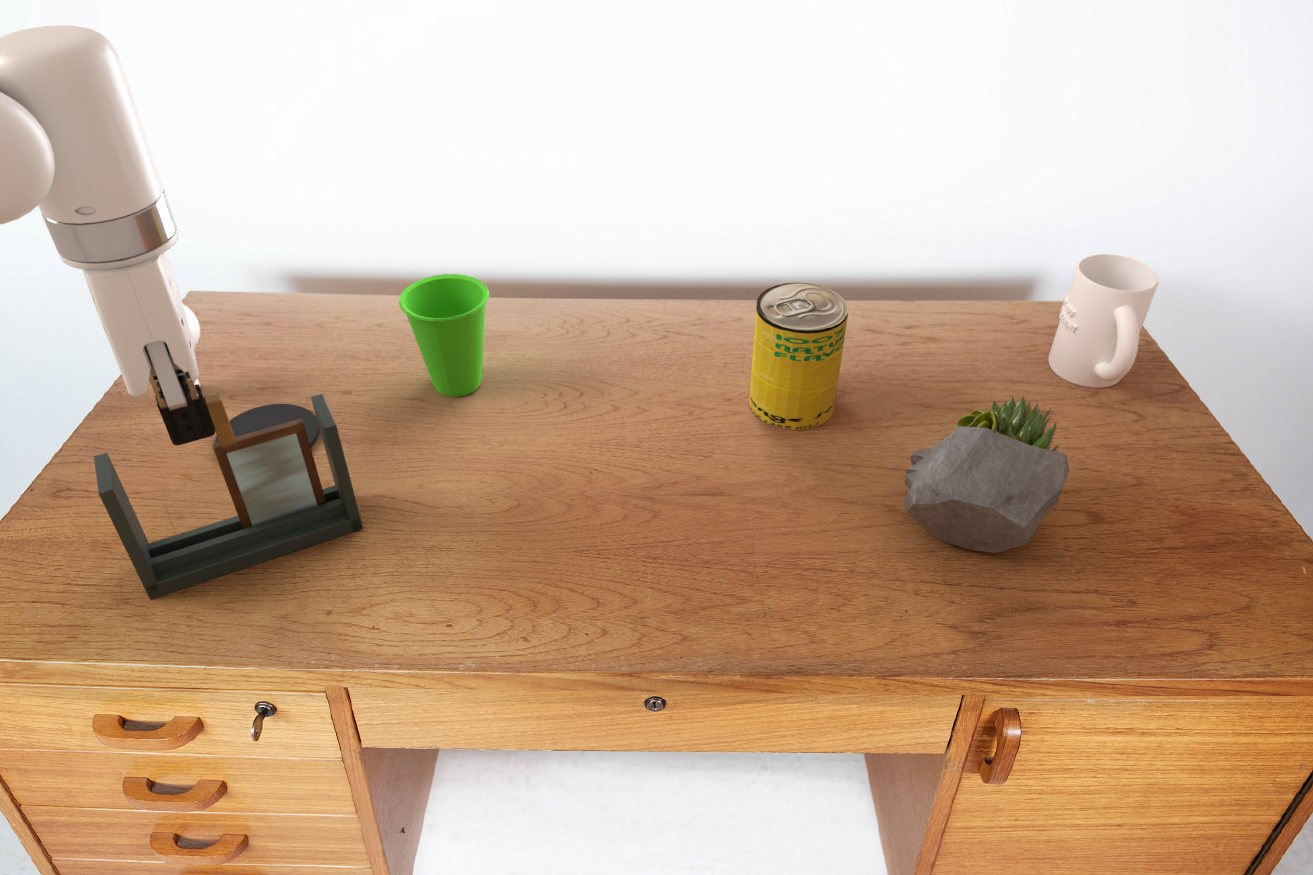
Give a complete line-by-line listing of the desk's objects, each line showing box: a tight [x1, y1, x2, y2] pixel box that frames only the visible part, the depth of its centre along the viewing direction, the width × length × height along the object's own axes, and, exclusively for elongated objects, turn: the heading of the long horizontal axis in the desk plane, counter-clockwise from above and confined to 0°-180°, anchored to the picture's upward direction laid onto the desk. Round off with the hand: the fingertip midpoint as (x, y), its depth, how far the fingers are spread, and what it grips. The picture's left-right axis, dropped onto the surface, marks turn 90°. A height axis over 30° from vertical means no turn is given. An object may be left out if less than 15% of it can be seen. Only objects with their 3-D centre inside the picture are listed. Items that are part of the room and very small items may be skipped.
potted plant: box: [902, 394, 1070, 554], centre depth 86 cm, size 12×13×15 cm
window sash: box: [203, 392, 326, 529], centre depth 81 cm, size 7×1×14 cm, turn 118°
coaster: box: [214, 403, 321, 448], centre depth 97 cm, size 10×10×1 cm
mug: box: [1047, 253, 1159, 389], centre depth 102 cm, size 8×12×12 cm
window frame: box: [93, 393, 364, 600], centre depth 82 cm, size 18×5×12 cm, turn 118°
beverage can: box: [748, 282, 849, 431], centre depth 99 cm, size 9×9×12 cm
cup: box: [398, 273, 490, 398], centre depth 101 cm, size 9×9×11 cm
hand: (193, 434), depth 77 cm, fingers closed
